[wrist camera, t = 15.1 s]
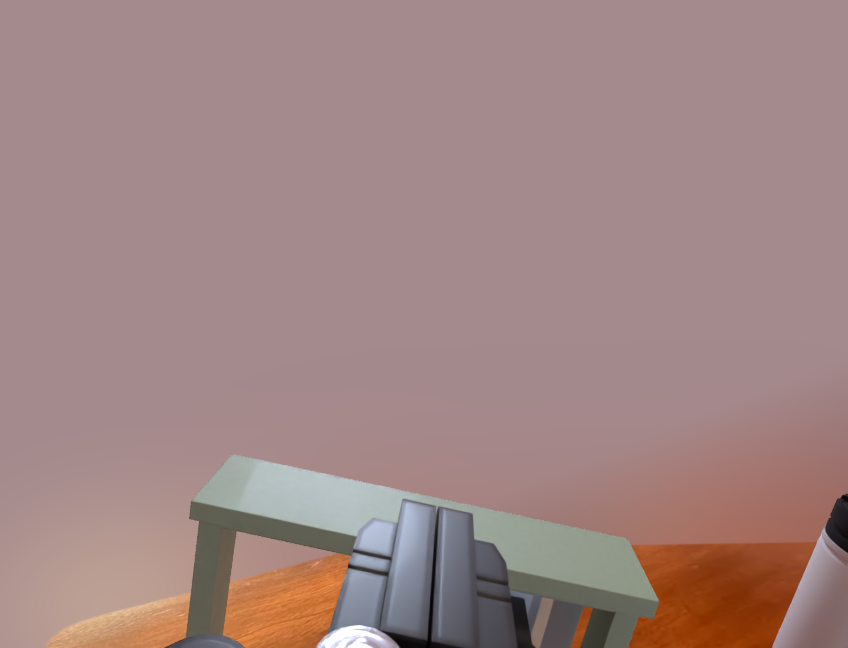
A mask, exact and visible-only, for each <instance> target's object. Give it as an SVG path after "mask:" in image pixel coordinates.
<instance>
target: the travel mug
mask: <svg viewBox="0 0 848 648" xmlns="http://www.w3.org/2000/svg"><path fill="white" fill-rule="evenodd" d="M772 648H848V494H845V495H842V497H841V498H840V499H837V501H836V503H835V505H834V508H833V510H832V512H831V518H829V520H828V522H827V524H826V525H825V526H824V528H823V530H822V535H821V536H820V538H819V540H818V542H817V544H816V547H815V549H814V551H813V554H812V556H811V558H810V561H809V563H808V565H807V568H806V570H805V572H804V574H803V577H802V579H801V581H800V584H799V586H798V588H797V591H796V593H795V595H794V598H793V600H792V602H791V605H790V607H789V609H788V612H787V614H786V616H785V619H784V621H783V623H782V626H781V628H780V630H779V633H778V635H777V637H776V639H775V642H774V644H773V646H772Z"/></svg>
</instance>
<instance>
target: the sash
mask: <svg viewBox="0 0 848 648" xmlns="http://www.w3.org/2000/svg"><path fill="white" fill-rule="evenodd" d="M510 595H511V603H512V610H513V617H514V625H515V632H516V640H517V647H518V648H540V645H541V642H542V639H543V635H544V632H545V629H546V626H547V622H548V619H549V616H550V613H551V609H552V606H553V603H554V599H549V598H544V597H540V596H535V595H530V594H526V593H521V592H517V591H512V590H510Z"/></svg>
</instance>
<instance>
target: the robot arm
mask: <svg viewBox="0 0 848 648" xmlns="http://www.w3.org/2000/svg"><path fill="white" fill-rule="evenodd" d="M508 584H509V580H508V573H507V565H506V562H505V560H504V558H503V557H502V555H501V554H500V552H499V551H498V549H497V548H496V546H495V544H494V543H489V542H484V541H480V540H475V539H474V523H473V514H472V513H469V512H464V511H459V510H455V509H450V508H445V507H441V506H439V507H438V509H437V512H436V505H431V504H426V503H422V502H417V501H412V500H408V499H403V500H402V504H401V508H400V513H399V518H398V522H397V523H395V522H391V521H386V520H382V519H377V518H372V519H371V520H370V521H369V522H368V523H367V524H365V525H364V526H363V527H362V528H361V529H360V530H359V531H358V534H357V538H356V541H355V544H354V548H353V552H352V554H351V558H350V561H349V565H348V568H347V571H346V575H345V578H344V581H343V585H342V588H341V591H340V595H339V598H338V601H337V605H336V608H335V611H334V615H333V618H332V622H331V625H330V628H329V630H328V633H327V635H326V636H325V637H324V638H323V639H322V640H321V641H320V643H319V644H318V645H317V647H316V648H518V647H517V640H516V632H515V625H514V617H513V610H512V603H511V595H510V587H509V586H508ZM165 648H244V647H243V646H242V645H241V644H240V643H238V642H237V641H235V640H233V639H231V638H229V637H225V636H221V635H214V634H202V635H196V636H191V637H188V638H185V639H182V640H180V641H177V642H175V643H173V644H171V645H169V646H167V647H165Z"/></svg>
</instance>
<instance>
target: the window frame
mask: <svg viewBox="0 0 848 648" xmlns="http://www.w3.org/2000/svg"><path fill="white" fill-rule="evenodd" d="M403 499H408V500H412V501H417V502H422V503H426V504H431V505H436V512H437V509H438V507H439V506H441V507H445V508H450V509H455V510H459V511H464V512H469V513H472V514H473V523H474V539H475V540H480V541H484V542H489V543H494V544H495V546H496V548H497V549H498V551H499V552H500V554H501V555H502V557H503V558H504V560H505V562H506V565H507V573H508V580H509V584H508V586H509V587H510V590H512V591H517V592H521V593H526V594H530V595H535V596H540V597H544V598H549V599H554V603H553V606H552V609H551V613H550V616H549V619H548V622H547V626H546V629H545V632H544V635H543V639H542V642H541V645H540V648H570V647H571V644H572V641H573V638H574V635H575V632H576V628H577V625H578V622H579V619H580V616H581V613H582V610H583V607H584V606H586V607H591V608H593V610H592V614H591V617H590V620H589V623H588V626H587V629H586V632H585V635H584V638H583V641H582V644H581V647H580V648H628V646H629V643H630V640H631V637H632V634H633V632H634V629H635V626H636V623H637V620H638V617H639V616H641V617H645V618H650V619H653V618H654V615H655V613H656V610H657V607H658V604H659V600H658V598H657V596H656V594H655V592H654V590H653V588H652V586H651V584H650V582H649V580H648V578H647V576H646V574H645V572H644V570H643V568H642V566H641V564H640V562H639V560H638V558H637V556H636V554H635V552H634V550H633V548H632V547H631V545H630V543H629V541H628V539H626V538H622V537H617V536H612V535H608V534H603V533H598V532H594V531H589V530H584V529H580V528H575V527H570V526H565V525H561V524H556V523H552V522H547V521H542V520H537V519H533V518H528V517H524V516H519V515H514V514H510V513H505V512H500V511H496V510H491V509H486V508H482V507H477V506H472V505H467V504H462V503H458V502H454V501H449V500H444V499H440V498H435V497H430V496H426V495H421V494H416V493H412V492H407V491H402V490H397V489H393V488H388V487H384V486H379V485H374V484H370V483H365V482H360V481H356V480H351V479H346V478H342V477H337V476H332V475H328V474H323V473H318V472H314V471H309V470H304V469H300V468H295V467H290V466H286V465H281V464H276V463H271V462H267V461H262V460H258V459H253V458H248V457H244V456H239V455H234V454H233V455H231V456H230V458H229V459H228V460H227V461H226V462H225V463H224V464H223V466H222V467H221V468H220V469H219V470H218V471H217V472H216V474H215V475H214V476H213V477H212V478H211V479H210V480H209V481H208V483H207V484H206V485H205V486H204V487H203V488H202V489H201V491H200V492H199V493H198V494H197V495H196V496H195V497H194V499H193V500H192V501H191V508H190V517H189V519H193V520H197V521H199V528H198V536H197V545H196V554H195V563H194V572H193V581H192V589H191V598H190V607H189V615H188V624H187V633H186V638H188V637H191V636H196V635H202V634H214V635H221V636H223V628H224V621H225V613H226V606H227V598H228V591H229V583H230V575H231V568H232V561H233V553H234V545H235V538H236V531H239V532H244V533H249V534H253V535H258V536H262V537H267V538H271V539H276V540H281V541H285V542H290V543H295V544H299V545H304V546H309V547H313V548H318V549H323V550H327V551H332V552H336V553H341V554H345V555H350V556H351V554H352V552H353V548H354V544H355V541H356V538H357V534H358V531H359V530H360V529H361V528H362V527H363V526H364V525H365V524H367V523H368V522H369V521H370V520H371V519H372V518H377V519H382V520H386V521H391V522H395V523H397V522H398V518H399V513H400V508H401V504H402V500H403Z"/></svg>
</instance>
